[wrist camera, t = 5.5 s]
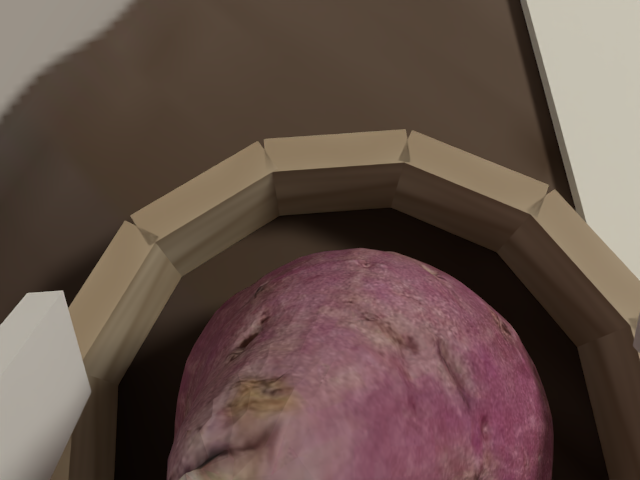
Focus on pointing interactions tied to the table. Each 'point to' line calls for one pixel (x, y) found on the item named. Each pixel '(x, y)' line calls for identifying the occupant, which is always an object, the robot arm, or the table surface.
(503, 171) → the segmented wooden ring
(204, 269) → the table surface
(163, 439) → the table surface
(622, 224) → the white mat
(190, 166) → the table surface
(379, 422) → the vegetable
